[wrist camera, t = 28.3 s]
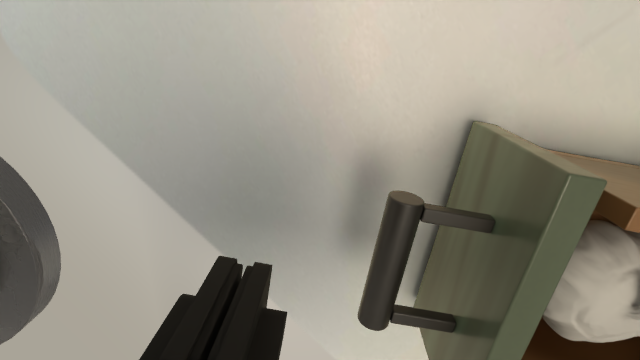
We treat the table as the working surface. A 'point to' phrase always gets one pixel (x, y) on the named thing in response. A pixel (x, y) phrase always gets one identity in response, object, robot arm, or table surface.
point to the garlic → (599, 287)
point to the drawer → (500, 250)
